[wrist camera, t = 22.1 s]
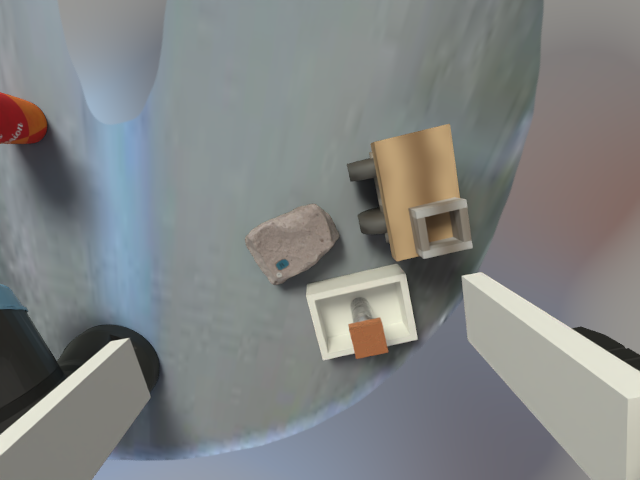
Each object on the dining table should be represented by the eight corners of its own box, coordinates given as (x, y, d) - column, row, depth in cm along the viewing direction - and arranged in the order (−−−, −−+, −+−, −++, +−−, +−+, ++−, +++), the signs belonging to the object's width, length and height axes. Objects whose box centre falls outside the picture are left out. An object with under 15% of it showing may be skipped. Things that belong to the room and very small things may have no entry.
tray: (322, 343, 55) (323, 360, 50) (307, 283, 52) (306, 295, 47) (408, 324, 54) (417, 339, 49) (397, 263, 52) (405, 273, 47)
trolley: (361, 247, 51) (378, 274, 38) (341, 152, 48) (352, 146, 35) (435, 230, 50) (478, 251, 37) (420, 133, 47) (461, 119, 34)
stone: (275, 282, 52) (271, 296, 46) (243, 233, 50) (234, 241, 44) (345, 241, 51) (350, 250, 45) (315, 190, 49) (316, 193, 43)
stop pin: (349, 320, 53) (356, 358, 43) (343, 297, 52) (349, 330, 42) (375, 315, 53) (388, 352, 43) (370, 291, 52) (382, 323, 42)
